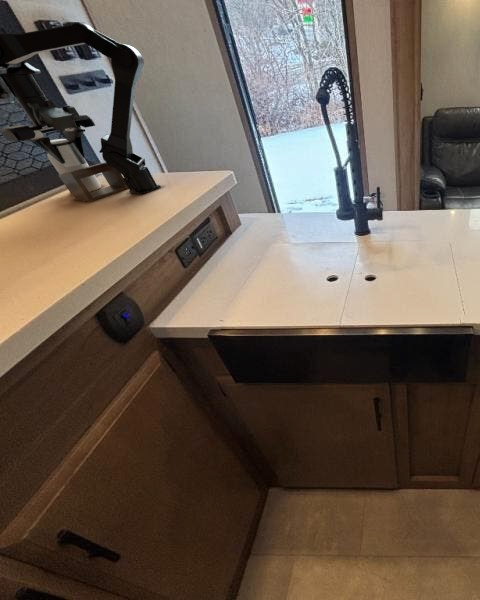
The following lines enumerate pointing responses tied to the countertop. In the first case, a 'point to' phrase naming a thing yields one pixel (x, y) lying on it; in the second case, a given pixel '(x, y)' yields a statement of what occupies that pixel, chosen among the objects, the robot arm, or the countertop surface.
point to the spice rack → (74, 177)
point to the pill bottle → (89, 182)
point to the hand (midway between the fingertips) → (73, 160)
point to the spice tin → (69, 153)
